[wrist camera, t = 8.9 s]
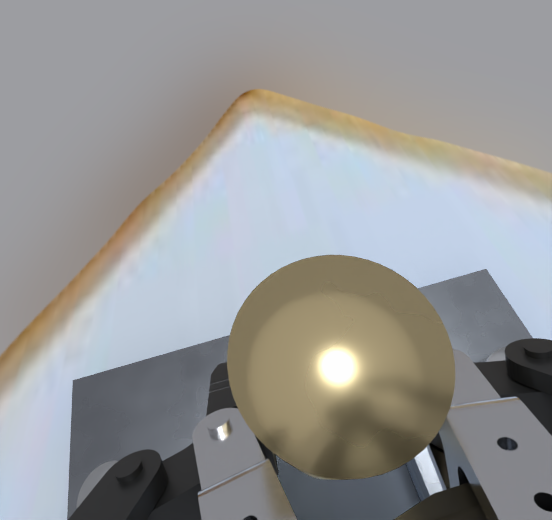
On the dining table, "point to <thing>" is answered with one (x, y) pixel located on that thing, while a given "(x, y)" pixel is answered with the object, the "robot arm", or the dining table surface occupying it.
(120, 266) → the dining table surface
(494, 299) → the chain end lower
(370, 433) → the pin
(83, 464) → the chain end upper
